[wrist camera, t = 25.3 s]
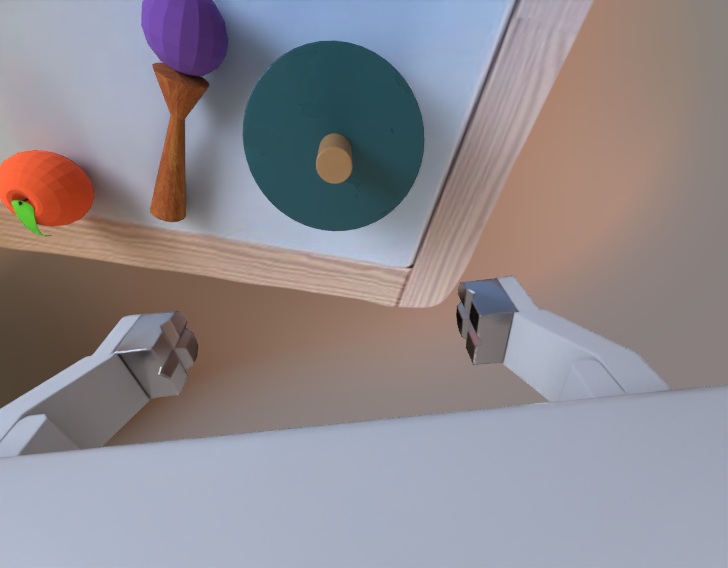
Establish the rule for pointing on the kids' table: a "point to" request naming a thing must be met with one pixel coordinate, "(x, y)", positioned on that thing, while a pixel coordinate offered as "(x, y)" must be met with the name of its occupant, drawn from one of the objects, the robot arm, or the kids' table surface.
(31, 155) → the clementine
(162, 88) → the kendama
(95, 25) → the kids' table surface
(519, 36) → the kids' table surface
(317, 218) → the lid
